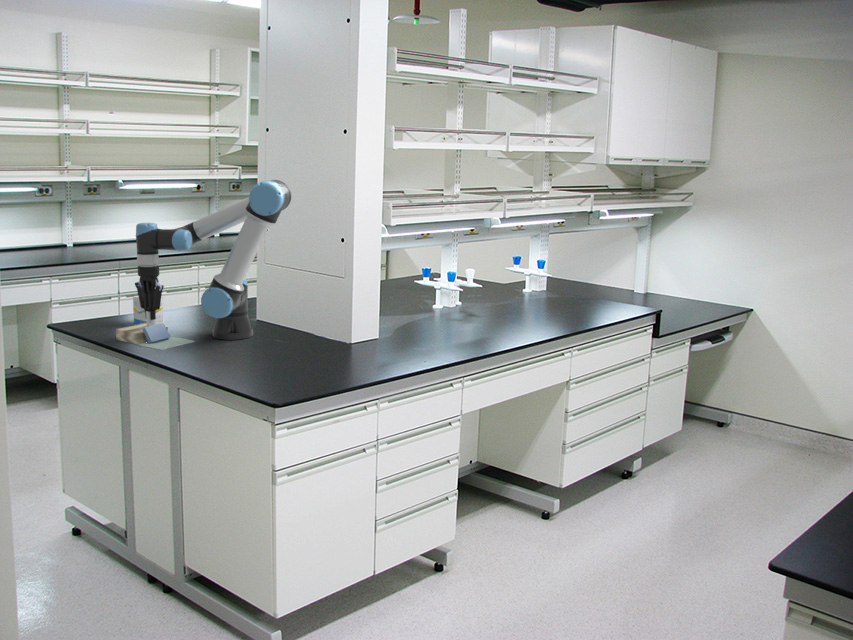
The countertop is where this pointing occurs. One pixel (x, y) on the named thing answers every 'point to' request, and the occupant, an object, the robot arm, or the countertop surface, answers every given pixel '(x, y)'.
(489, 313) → the countertop surface
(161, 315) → the ink box
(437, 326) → the countertop surface
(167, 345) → the mat
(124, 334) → the beige flat block
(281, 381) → the countertop surface
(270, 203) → the robot arm
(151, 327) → the blue flat block
